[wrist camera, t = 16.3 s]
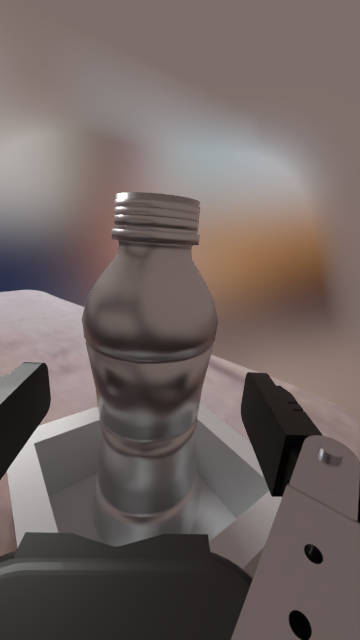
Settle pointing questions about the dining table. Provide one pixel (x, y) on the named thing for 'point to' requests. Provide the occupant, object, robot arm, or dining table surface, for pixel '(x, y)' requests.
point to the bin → (82, 468)
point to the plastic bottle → (149, 369)
